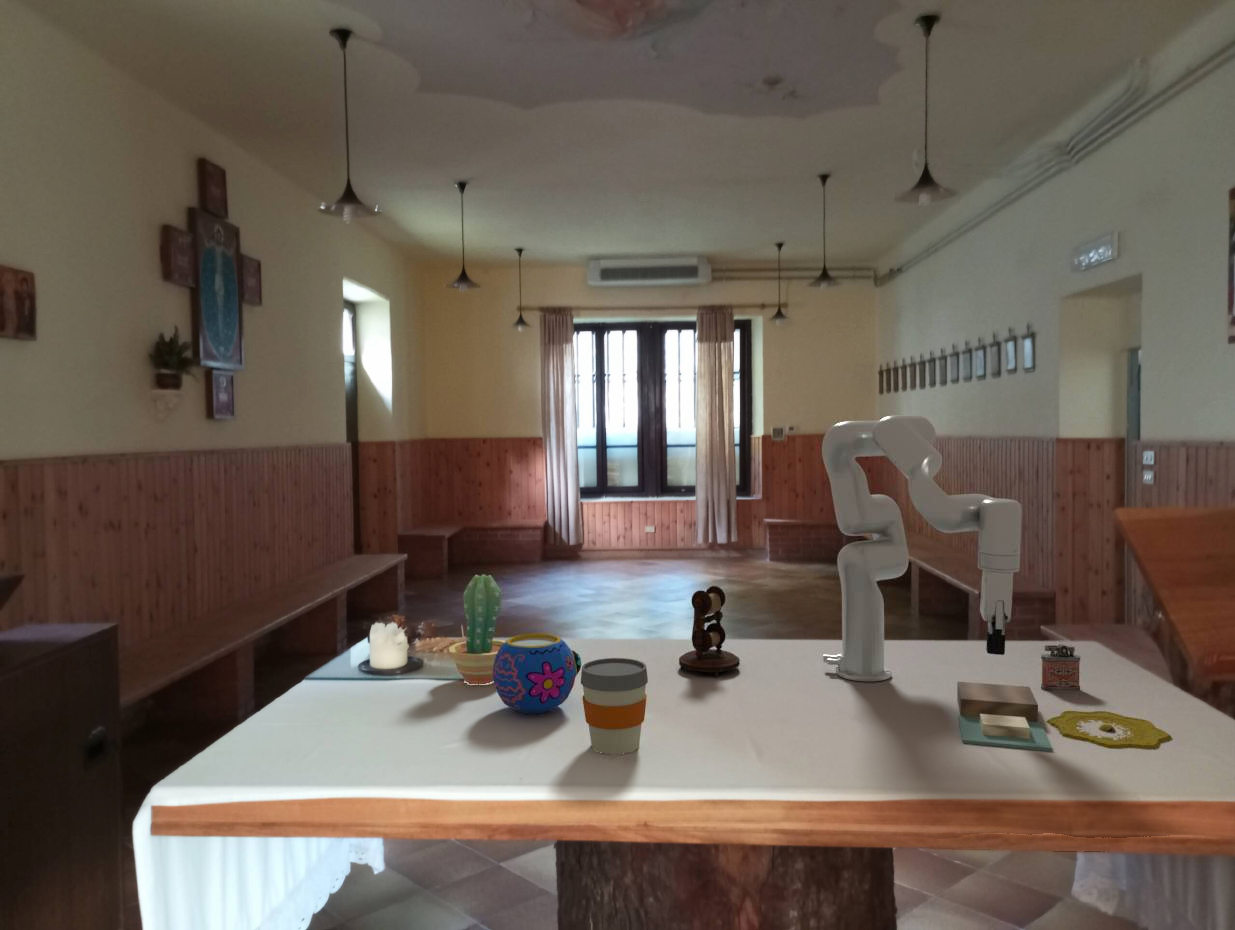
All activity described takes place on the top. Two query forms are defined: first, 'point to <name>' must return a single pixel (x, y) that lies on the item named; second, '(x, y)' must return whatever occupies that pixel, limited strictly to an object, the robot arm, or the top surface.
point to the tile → (1004, 726)
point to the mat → (974, 735)
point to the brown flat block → (996, 700)
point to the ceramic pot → (535, 672)
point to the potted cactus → (479, 631)
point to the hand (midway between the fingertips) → (995, 652)
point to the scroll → (708, 635)
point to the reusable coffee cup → (614, 703)
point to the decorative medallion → (1141, 729)
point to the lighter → (1060, 669)
